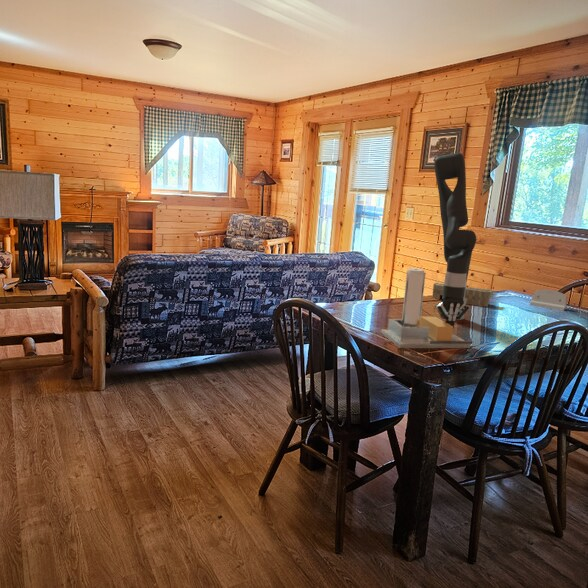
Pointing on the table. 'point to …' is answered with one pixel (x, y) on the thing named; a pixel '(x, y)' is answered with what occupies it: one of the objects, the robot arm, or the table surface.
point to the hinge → (549, 299)
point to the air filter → (413, 297)
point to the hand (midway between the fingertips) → (448, 330)
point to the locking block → (437, 328)
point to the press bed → (418, 337)
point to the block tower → (467, 294)
